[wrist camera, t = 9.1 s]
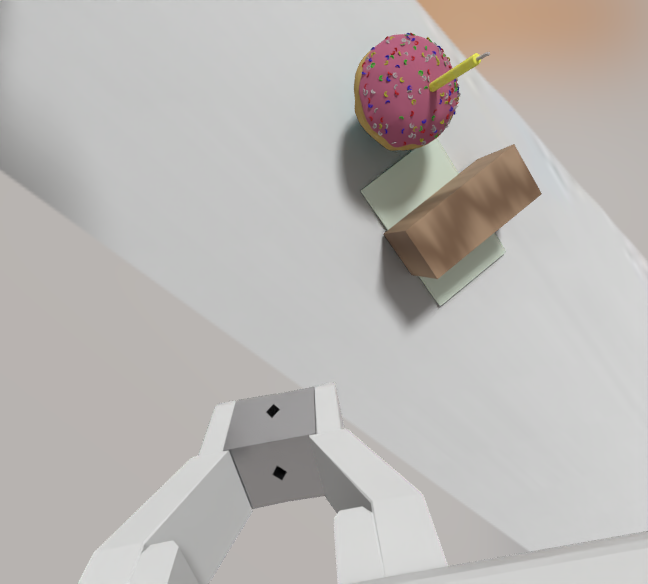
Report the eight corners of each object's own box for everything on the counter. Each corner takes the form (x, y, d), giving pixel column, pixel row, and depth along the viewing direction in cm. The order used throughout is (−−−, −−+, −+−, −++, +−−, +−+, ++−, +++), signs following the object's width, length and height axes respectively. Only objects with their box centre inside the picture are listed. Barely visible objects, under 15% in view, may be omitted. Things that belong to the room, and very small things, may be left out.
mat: (360, 191, 32) (361, 190, 32) (432, 134, 33) (434, 133, 33) (439, 305, 35) (440, 306, 35) (504, 251, 36) (506, 251, 36)
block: (405, 230, 28) (514, 144, 29) (383, 233, 33) (477, 159, 34) (437, 279, 29) (541, 193, 30) (411, 274, 34) (502, 201, 35)
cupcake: (439, 87, 33) (540, -4, 21) (413, 176, 33) (499, 135, 22) (354, 51, 31) (414, -70, 19) (329, 146, 31) (372, 83, 20)
